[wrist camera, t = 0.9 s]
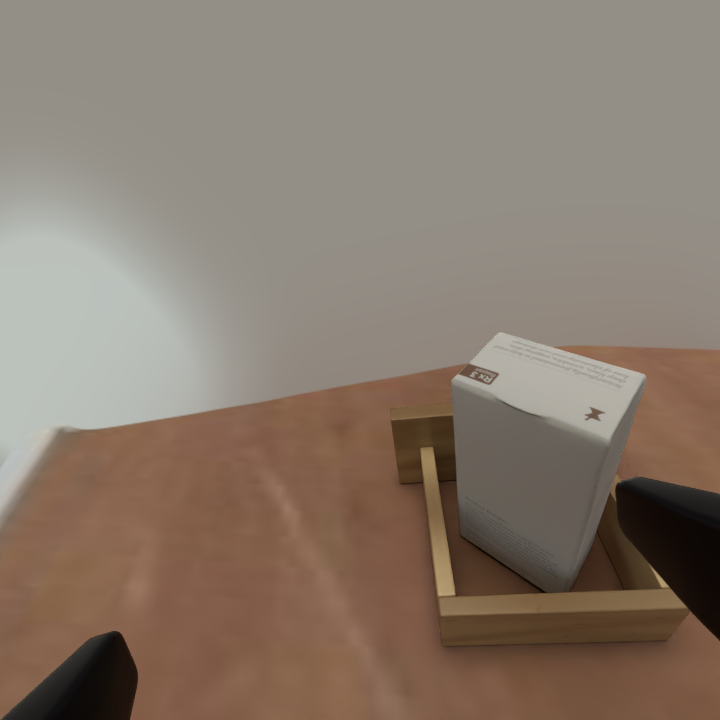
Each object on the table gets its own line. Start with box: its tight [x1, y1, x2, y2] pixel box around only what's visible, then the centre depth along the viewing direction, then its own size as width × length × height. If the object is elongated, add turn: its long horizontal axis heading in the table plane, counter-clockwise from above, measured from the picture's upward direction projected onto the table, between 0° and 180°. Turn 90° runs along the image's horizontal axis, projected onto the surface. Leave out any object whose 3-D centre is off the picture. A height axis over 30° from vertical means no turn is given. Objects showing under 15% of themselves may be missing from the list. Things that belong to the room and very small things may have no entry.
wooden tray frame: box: [390, 403, 690, 646], centre depth 21 cm, size 10×13×6 cm
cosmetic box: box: [451, 332, 646, 593], centre depth 19 cm, size 6×4×12 cm
